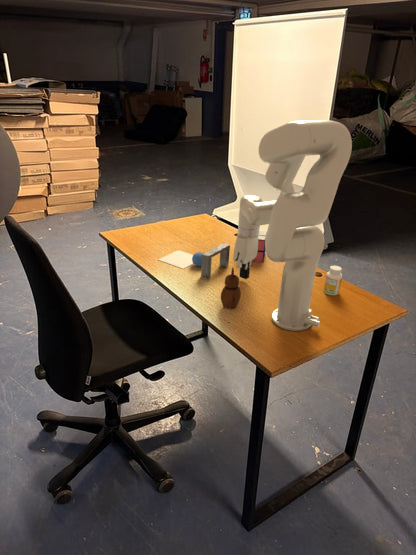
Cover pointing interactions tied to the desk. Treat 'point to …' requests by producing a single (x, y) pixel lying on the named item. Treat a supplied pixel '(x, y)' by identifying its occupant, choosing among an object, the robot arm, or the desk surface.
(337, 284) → the supplement bottle
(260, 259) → the puzzle cube
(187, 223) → the desk surface
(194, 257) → the ball
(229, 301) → the wooden figurine
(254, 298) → the desk surface
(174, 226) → the desk surface
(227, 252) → the bridge
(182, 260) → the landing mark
